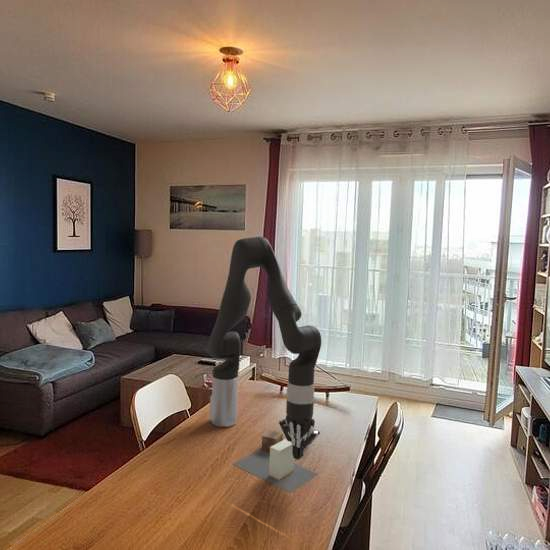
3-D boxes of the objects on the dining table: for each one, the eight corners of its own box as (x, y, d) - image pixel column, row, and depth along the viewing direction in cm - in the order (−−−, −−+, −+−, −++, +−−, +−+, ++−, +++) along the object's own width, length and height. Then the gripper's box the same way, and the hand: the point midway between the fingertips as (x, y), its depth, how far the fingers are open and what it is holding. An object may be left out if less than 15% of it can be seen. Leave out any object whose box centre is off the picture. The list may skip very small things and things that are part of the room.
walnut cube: (261, 450, 145) (262, 435, 145) (268, 444, 150) (268, 429, 149) (275, 454, 143) (276, 439, 142) (282, 447, 147) (282, 433, 147)
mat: (232, 465, 135) (232, 464, 135) (261, 450, 145) (261, 449, 145) (290, 494, 121) (290, 492, 121) (318, 475, 131) (318, 473, 131)
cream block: (269, 475, 129) (270, 447, 129) (284, 466, 135) (285, 439, 134) (278, 480, 127) (279, 451, 126) (293, 470, 132) (294, 442, 132)
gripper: (273, 395, 127) (270, 454, 128) (312, 408, 118) (309, 471, 120) (289, 388, 132) (287, 445, 134) (327, 400, 124) (324, 461, 126)
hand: (297, 458), depth 127 cm, fingers closed
